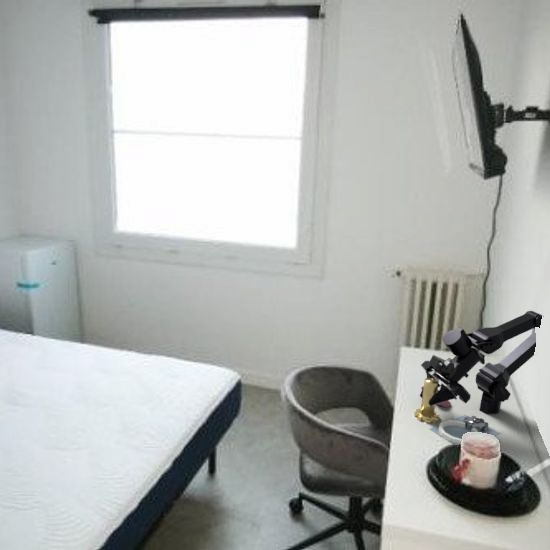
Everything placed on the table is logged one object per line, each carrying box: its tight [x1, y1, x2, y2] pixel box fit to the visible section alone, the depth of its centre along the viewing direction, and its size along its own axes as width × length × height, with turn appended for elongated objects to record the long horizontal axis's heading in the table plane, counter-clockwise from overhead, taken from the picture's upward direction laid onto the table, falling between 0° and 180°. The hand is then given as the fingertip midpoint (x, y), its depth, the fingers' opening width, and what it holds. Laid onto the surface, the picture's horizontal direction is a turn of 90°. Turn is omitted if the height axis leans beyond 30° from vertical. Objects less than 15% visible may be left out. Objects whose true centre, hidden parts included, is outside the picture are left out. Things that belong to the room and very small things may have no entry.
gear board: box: [429, 414, 501, 446], centre depth 148 cm, size 17×12×2 cm
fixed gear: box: [463, 415, 489, 432], centre depth 150 cm, size 7×7×2 cm
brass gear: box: [414, 377, 440, 424], centre depth 153 cm, size 7×7×13 cm
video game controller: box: [421, 385, 452, 408], centre depth 165 cm, size 10×5×7 cm, turn 21°
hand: (424, 400), depth 153 cm, fingers open, 4 cm apart
